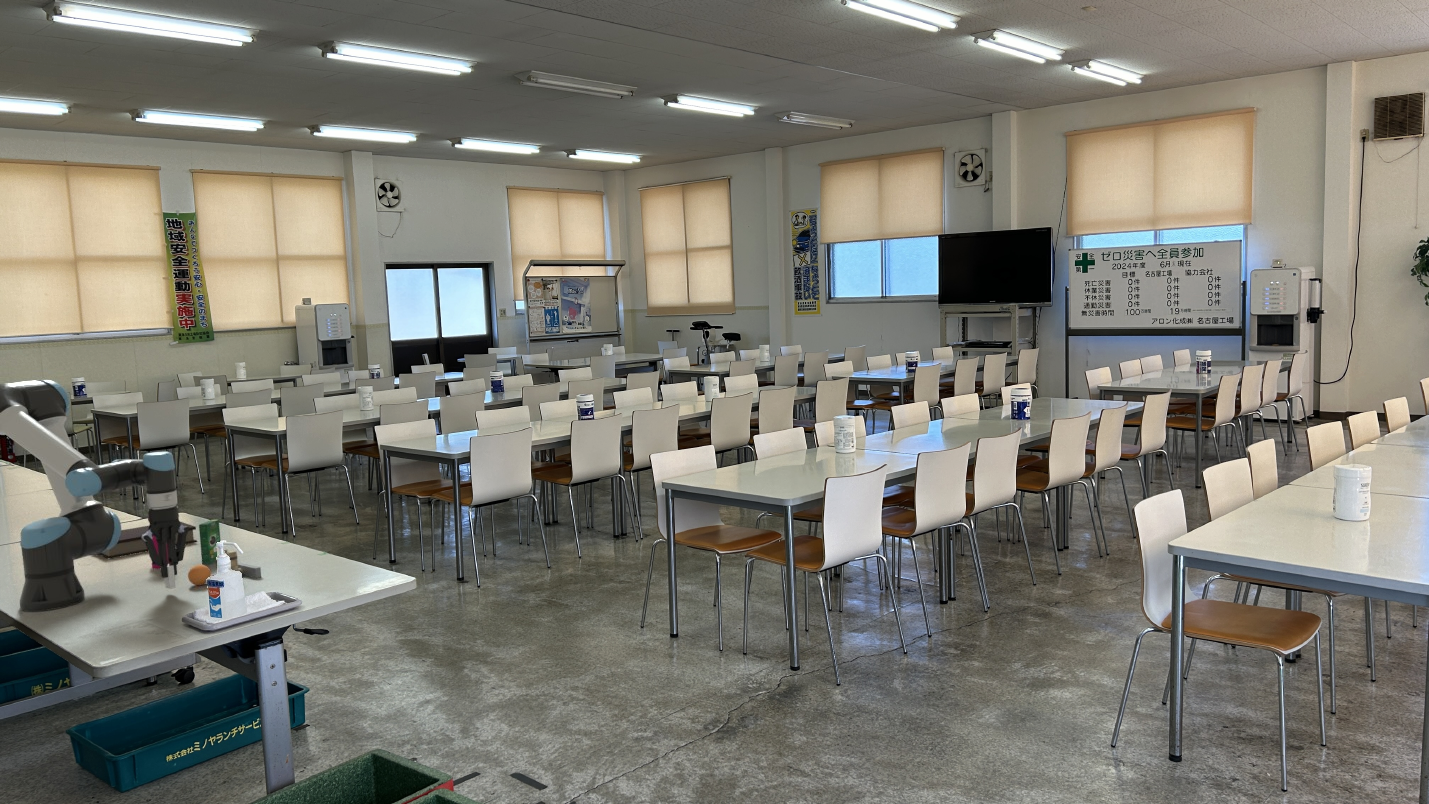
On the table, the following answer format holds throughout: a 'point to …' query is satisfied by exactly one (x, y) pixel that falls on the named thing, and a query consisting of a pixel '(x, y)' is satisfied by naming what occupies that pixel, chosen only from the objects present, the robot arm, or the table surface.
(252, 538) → the table surface
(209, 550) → the coffee box
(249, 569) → the back wall
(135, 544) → the book
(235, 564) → the pin
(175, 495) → the robot arm
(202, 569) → the ball
